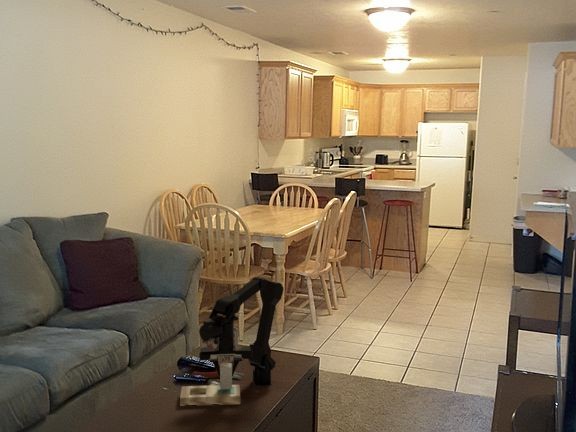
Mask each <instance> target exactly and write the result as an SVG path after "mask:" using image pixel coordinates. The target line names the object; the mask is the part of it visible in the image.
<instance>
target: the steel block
mask: <svg viewBox="0 0 576 432" xmlns="http://www.w3.org/2000/svg"><path fill="white" fill-rule="evenodd" d="M232 366H233V362H231V363H220V377H219V378H220V379H219V385H220V389H232V385H233V378H232Z"/></svg>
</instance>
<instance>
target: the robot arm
mask: <svg viewBox="0 0 576 432" xmlns="http://www.w3.org/2000/svg"><path fill="white" fill-rule="evenodd" d="M258 292H260V298H261V302H262V307H261V312H260V318H259V322H258V328H257V333H256V339H255V341H254V342H253V343H252V344H249V345H248V346H240V349H238V350H234V326H235V321H238V320H239V317H238V316H236V314H237V313H238V312H239V311H240V310H241V306H242V305H243V304H244V303H246V302H247V301H248V300H249V299H250V298H252V297H253V296H254V295H256V294H257V293H258ZM283 293H284V285H283V284H282V283H281V282H278V281H273V280H268V279H265V278H264V277H259V276H254V277H252V279H251V280H250V281H249V282H247V283H246V284H245V285H243V286H242V287H241V288H239V289H237V290H236V291H235V292H234V293H231V294H229V295H225V296H222V297H220V298H218V299H217V300H216V302H215V304H214V306H213V308H212V310H211V313H210V314H209V317H208V319H209V320H204V321H203V322H202V323H203V324H202V325H201V326H200V327H199V329H198V330H199V331H198V333H199V334H198V335H199V338H200V337H201V338H202V340H204V341H209V340H212V339H214V344H218V350H211V347H204V348H201V349H200V348H199V357H198V358H199V359H198V360H199V361H200V360H209V359H210V362H213V364H214V365H215V367H216V370H217V371H216V372H218V375H219V378H220V366H219V358H218V356H230V355H234V358H233V362H232V376H233V375H234V372H236V369H237V367H238V365H239V362H243V360H248V362H249V364H250V366H251V367H253V369H252V382H253V383H254V384H253V385H254V386H270V385H272V371H273V369H275V368H276V364H277V362H276V360H274V359H273V358H272V357H271V356H272V348H271V346H270V344H269V343H270V342H269V341H270V336H271V331H272V327H273V322H274V316H275V310H276V307H277V305H278V304H279V302H280V301H281V299H282V297H283Z"/></svg>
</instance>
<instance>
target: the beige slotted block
mask: <svg viewBox="0 0 576 432" xmlns="http://www.w3.org/2000/svg"><path fill="white" fill-rule="evenodd" d="M212 404H220V405H219V406H222V405H223V406H225V405H226V406H227V405H228V406H229V405H241V385H240V384H232V389H220V384H218V385H217V384H216V385H185V386H184V385H183V386H181V391H180V397H179V406H180V407H186V406H185V405H197V406H213V405H212Z"/></svg>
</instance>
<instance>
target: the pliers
mask: <svg viewBox="0 0 576 432" xmlns="http://www.w3.org/2000/svg"><path fill="white" fill-rule="evenodd" d="M192 374H193V375H201V376H204V377H208V378H207V379H213V378H214V379H215V377H219V375H218V372H217V371H211V372H210V371H209V372H204V371H203V372H200V371H193V372H192V373H191V375H192ZM243 377H246V374H244V373H239V372H236V371H235V372H234V375H233V376H232V379H243ZM219 378H220V377H219Z"/></svg>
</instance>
